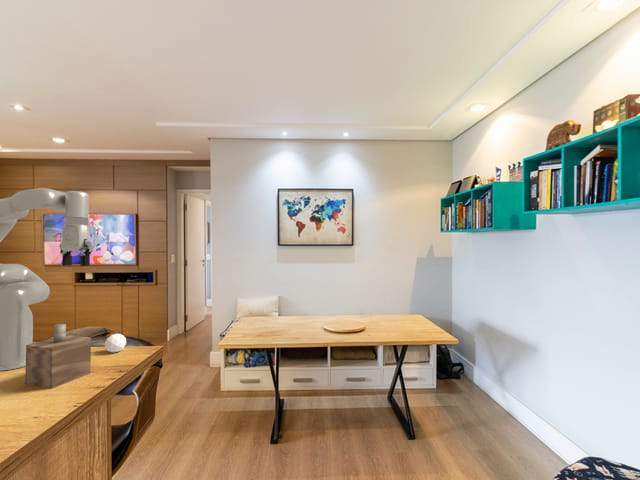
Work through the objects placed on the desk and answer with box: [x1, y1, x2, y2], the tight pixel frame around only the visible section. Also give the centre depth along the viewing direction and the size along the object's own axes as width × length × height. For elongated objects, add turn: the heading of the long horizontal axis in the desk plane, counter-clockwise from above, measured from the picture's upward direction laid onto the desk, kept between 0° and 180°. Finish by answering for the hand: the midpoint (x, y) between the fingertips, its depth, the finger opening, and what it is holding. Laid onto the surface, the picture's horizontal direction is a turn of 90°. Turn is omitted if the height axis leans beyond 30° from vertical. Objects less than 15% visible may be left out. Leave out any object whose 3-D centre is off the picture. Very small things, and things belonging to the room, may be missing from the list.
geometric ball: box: [104, 333, 127, 354], centre depth 132 cm, size 8×8×8 cm
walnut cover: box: [24, 323, 92, 389], centre depth 106 cm, size 12×12×18 cm
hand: (76, 265), depth 121 cm, fingers open, 9 cm apart
